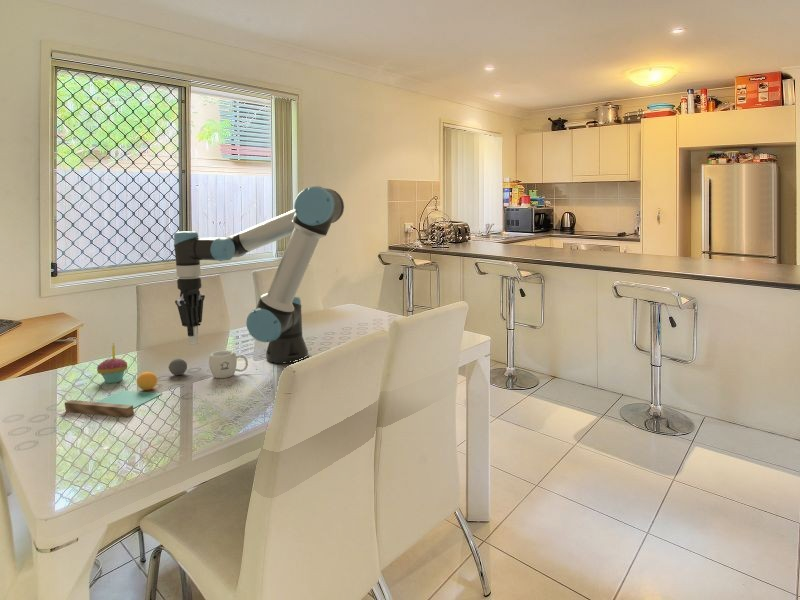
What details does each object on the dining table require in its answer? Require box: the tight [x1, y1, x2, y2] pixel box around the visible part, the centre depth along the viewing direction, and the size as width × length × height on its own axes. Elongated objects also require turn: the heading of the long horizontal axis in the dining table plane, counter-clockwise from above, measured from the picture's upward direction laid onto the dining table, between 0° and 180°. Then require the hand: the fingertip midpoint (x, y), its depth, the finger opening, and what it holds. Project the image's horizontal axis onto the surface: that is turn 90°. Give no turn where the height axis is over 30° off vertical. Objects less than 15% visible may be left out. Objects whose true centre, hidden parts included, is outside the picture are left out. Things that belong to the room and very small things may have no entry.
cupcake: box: [96, 342, 128, 384], centre depth 154 cm, size 9×8×12 cm
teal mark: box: [96, 389, 163, 410], centre depth 137 cm, size 14×14×1 cm
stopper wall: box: [64, 399, 135, 418], centre depth 129 cm, size 20×2×2 cm, turn 77°
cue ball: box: [168, 358, 188, 376], centre depth 160 cm, size 6×6×6 cm
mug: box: [208, 349, 249, 379], centre depth 158 cm, size 12×8×8 cm
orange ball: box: [136, 371, 158, 391], centre depth 146 cm, size 6×6×6 cm
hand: (193, 344), depth 168 cm, fingers closed
